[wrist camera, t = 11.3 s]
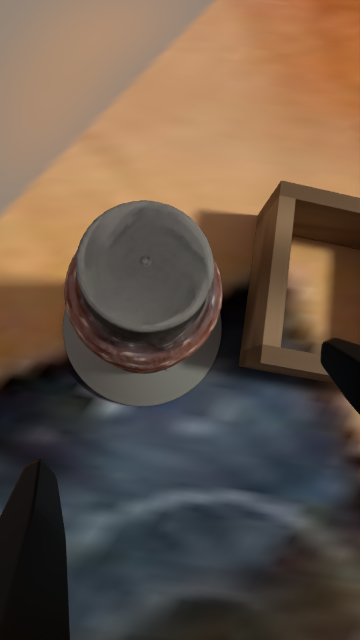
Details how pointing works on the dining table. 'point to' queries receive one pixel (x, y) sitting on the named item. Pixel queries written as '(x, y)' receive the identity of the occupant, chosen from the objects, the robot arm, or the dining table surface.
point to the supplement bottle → (143, 287)
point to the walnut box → (273, 264)
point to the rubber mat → (140, 386)
